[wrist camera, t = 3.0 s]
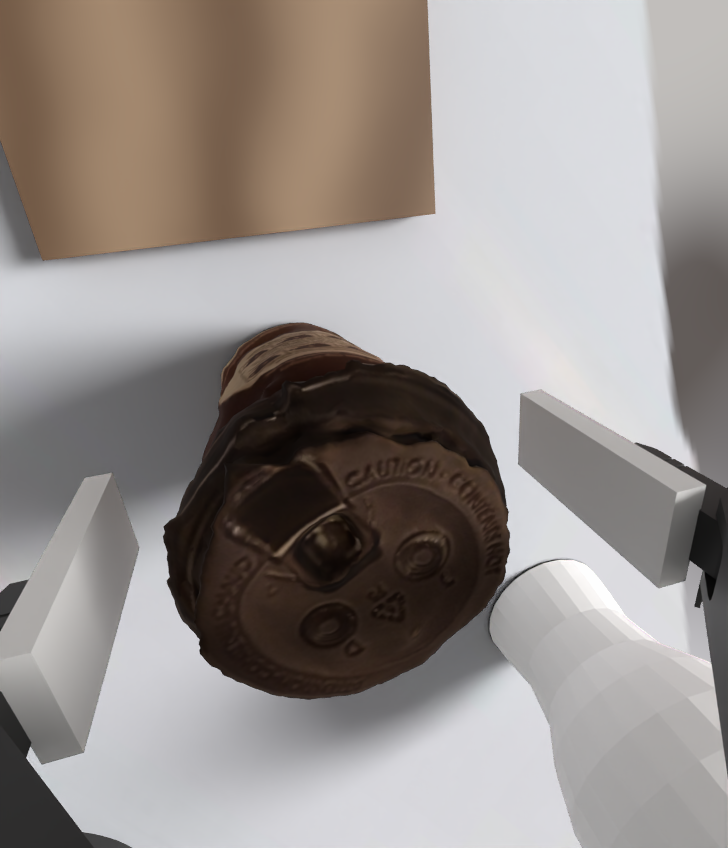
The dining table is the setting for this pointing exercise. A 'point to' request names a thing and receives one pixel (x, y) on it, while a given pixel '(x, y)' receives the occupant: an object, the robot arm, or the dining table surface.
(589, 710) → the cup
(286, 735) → the dining table surface
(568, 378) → the dining table surface
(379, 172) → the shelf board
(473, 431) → the coffee cup
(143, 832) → the dining table surface
